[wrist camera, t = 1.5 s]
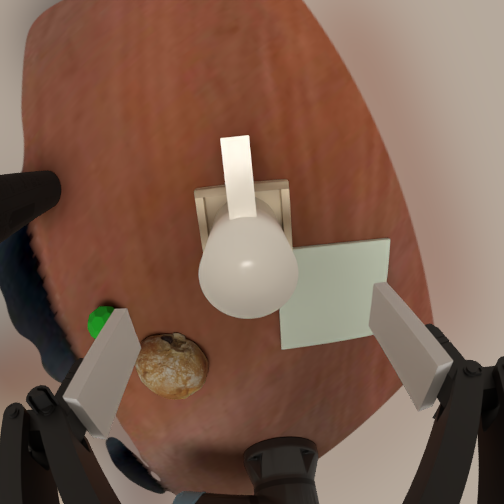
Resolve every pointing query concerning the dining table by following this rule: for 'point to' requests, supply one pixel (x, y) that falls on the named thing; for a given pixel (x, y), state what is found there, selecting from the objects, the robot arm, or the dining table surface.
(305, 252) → the plate
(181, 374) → the bread roll
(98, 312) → the polyhedron
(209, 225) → the holder
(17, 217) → the drinking cup
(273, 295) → the white cylinder with tab
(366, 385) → the dining table surface
